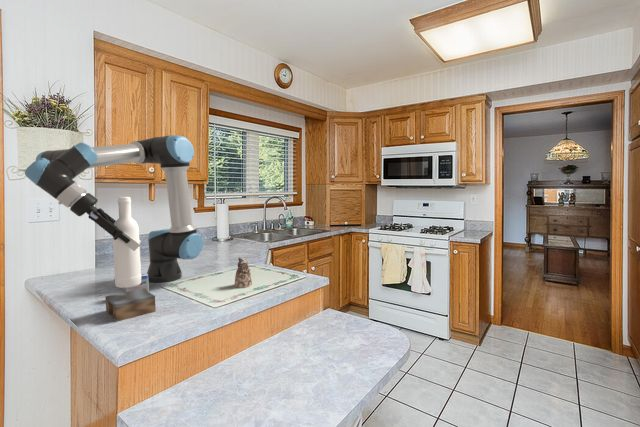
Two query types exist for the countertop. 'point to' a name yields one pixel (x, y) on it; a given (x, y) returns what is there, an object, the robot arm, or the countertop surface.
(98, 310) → the countertop surface
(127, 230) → the bottle
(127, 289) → the medicine box
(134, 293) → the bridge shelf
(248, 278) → the figurine
